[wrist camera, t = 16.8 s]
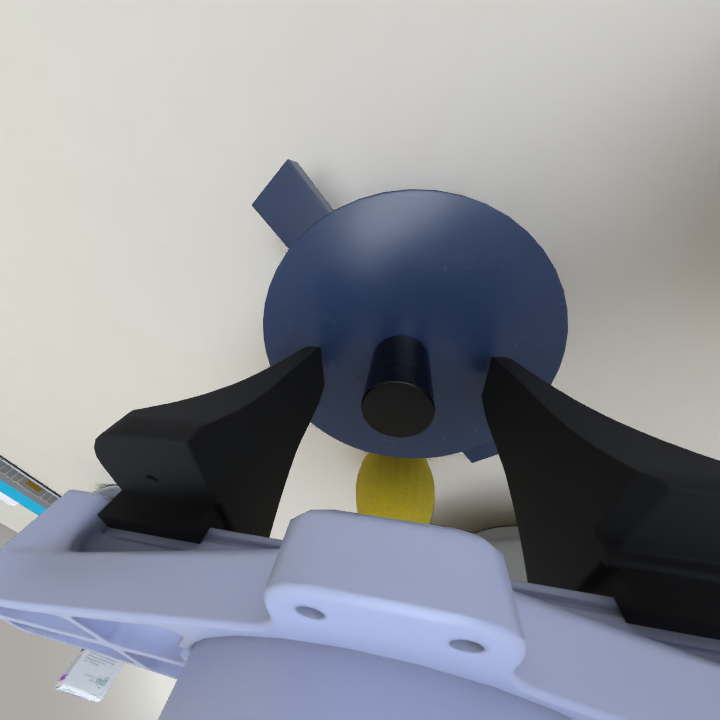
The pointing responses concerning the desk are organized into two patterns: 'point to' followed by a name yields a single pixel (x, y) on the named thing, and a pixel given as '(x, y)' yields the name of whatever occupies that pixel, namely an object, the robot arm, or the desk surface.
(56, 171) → the desk surface
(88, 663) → the syrup box
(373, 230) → the pot lid
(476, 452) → the pot
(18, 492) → the blue flat gadget
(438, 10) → the desk surface
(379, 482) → the lemon
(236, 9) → the desk surface
